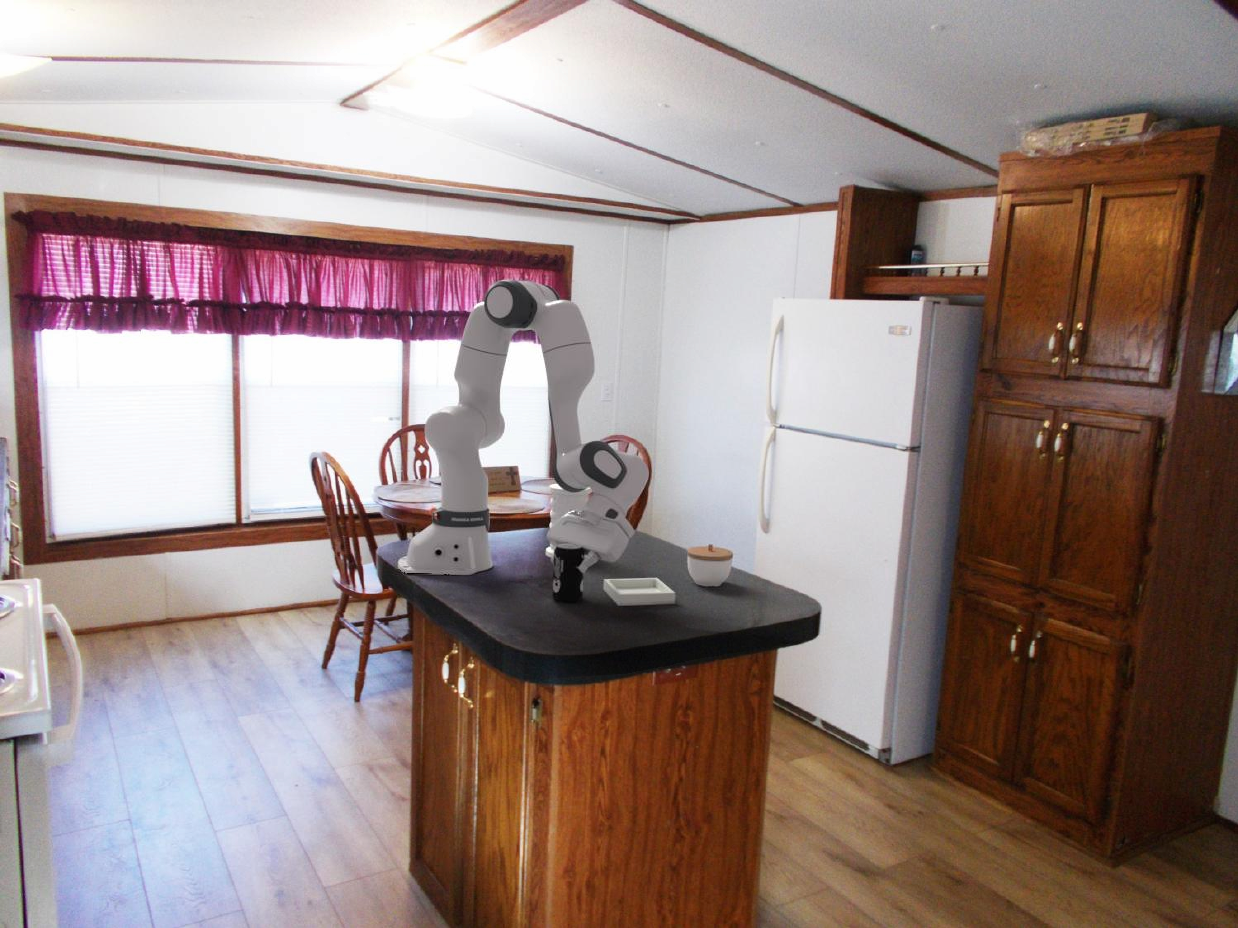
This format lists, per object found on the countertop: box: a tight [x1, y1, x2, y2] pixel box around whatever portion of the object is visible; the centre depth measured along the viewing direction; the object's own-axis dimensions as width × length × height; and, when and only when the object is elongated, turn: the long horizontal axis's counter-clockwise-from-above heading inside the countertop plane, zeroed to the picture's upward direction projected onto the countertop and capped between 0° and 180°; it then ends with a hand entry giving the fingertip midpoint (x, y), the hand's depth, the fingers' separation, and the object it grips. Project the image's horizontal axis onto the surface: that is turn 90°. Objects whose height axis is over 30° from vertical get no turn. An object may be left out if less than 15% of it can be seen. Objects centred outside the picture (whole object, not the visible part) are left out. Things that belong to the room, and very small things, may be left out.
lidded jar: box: [686, 543, 734, 587], centre depth 214 cm, size 11×11×9 cm
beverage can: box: [552, 542, 585, 604], centre depth 196 cm, size 7×7×12 cm
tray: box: [602, 577, 676, 607], centre depth 201 cm, size 13×13×2 cm
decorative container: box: [545, 483, 593, 560], centre depth 236 cm, size 12×12×18 cm
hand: (566, 566), depth 195 cm, fingers closed on beverage can, 6 cm apart
